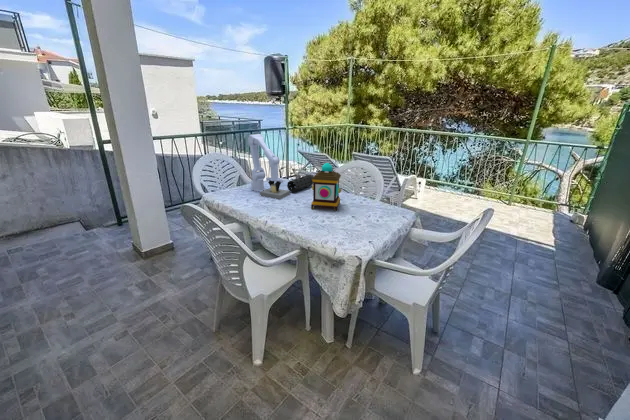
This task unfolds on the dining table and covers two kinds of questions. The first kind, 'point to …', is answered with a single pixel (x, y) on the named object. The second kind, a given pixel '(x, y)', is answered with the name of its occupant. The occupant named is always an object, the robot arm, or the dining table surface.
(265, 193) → the socket plate
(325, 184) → the decorative lantern
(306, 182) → the muzzle brake
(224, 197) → the dining table surface
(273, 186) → the plug
